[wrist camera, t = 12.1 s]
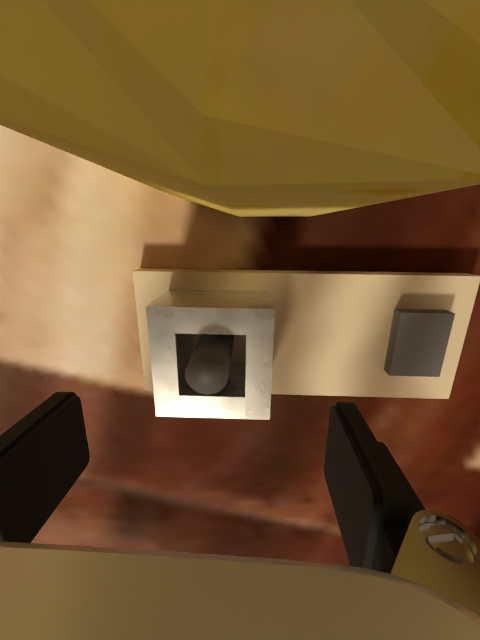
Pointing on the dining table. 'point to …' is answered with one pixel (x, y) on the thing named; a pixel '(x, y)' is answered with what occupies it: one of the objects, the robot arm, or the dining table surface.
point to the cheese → (253, 96)
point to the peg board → (332, 330)
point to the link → (211, 318)
